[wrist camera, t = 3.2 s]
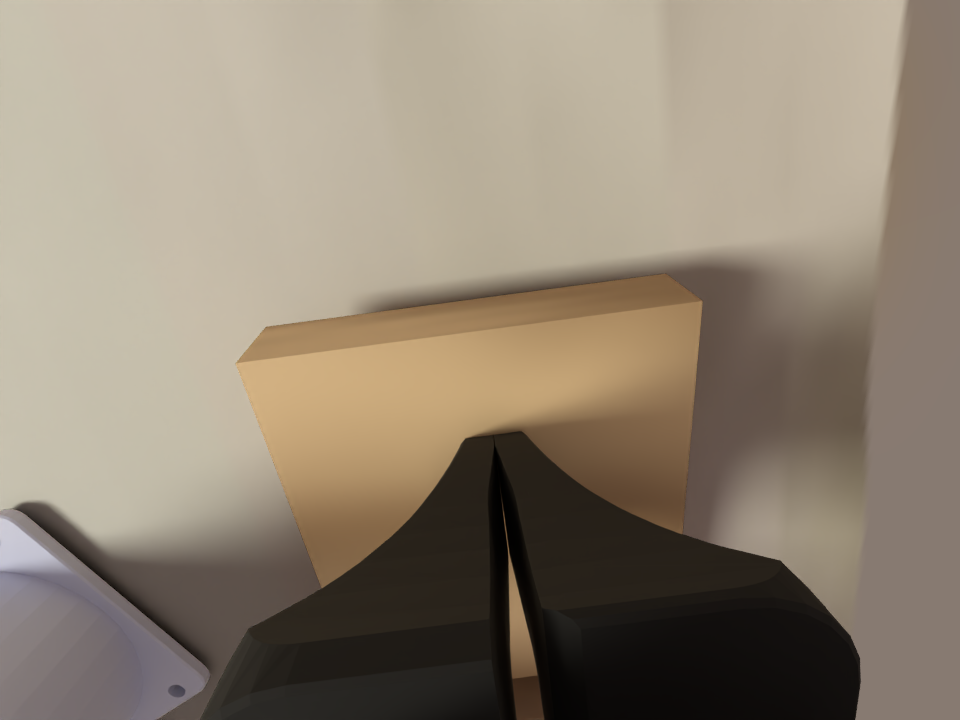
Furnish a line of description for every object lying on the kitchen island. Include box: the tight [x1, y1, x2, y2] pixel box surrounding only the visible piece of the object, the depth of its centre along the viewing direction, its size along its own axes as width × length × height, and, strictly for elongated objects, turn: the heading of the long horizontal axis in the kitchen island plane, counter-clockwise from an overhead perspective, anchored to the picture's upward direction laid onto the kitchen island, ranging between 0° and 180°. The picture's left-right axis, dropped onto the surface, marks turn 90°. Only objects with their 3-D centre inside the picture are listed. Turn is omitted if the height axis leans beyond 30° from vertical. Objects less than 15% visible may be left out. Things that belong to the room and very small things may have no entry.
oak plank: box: [236, 274, 703, 679], centre depth 13 cm, size 11×9×2 cm
